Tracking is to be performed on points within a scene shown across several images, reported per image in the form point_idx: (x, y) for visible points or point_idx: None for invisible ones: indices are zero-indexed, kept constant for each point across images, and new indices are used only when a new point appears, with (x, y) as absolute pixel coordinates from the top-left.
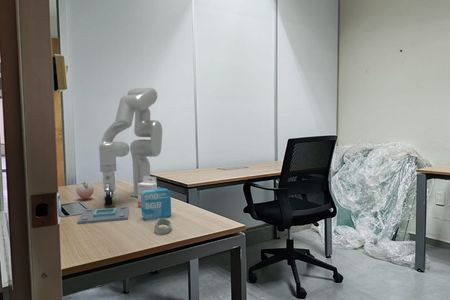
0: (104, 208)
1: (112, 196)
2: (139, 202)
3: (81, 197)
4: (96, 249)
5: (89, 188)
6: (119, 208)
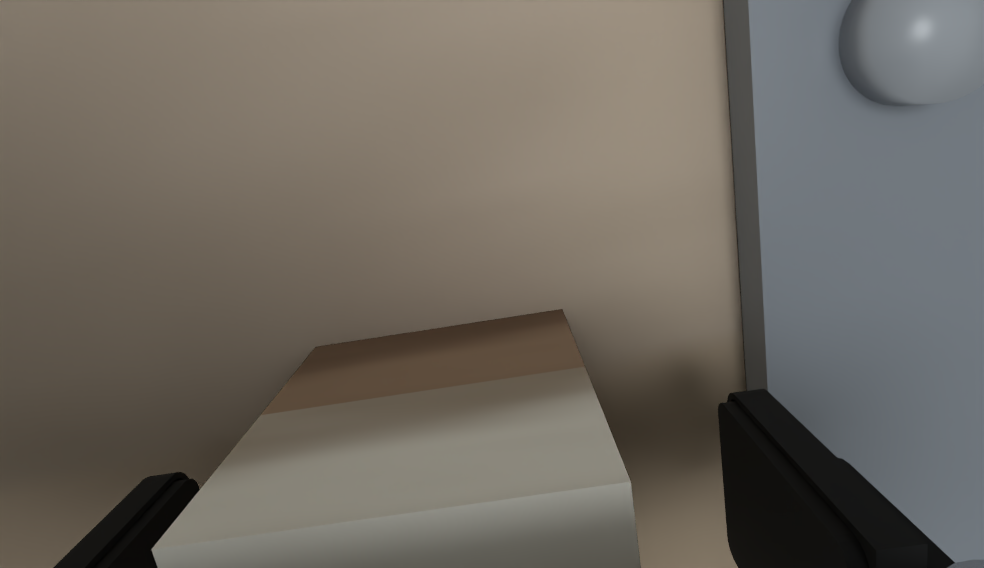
0: None
1: (636, 548)
2: None
3: None
4: None
5: None
6: (916, 137)
